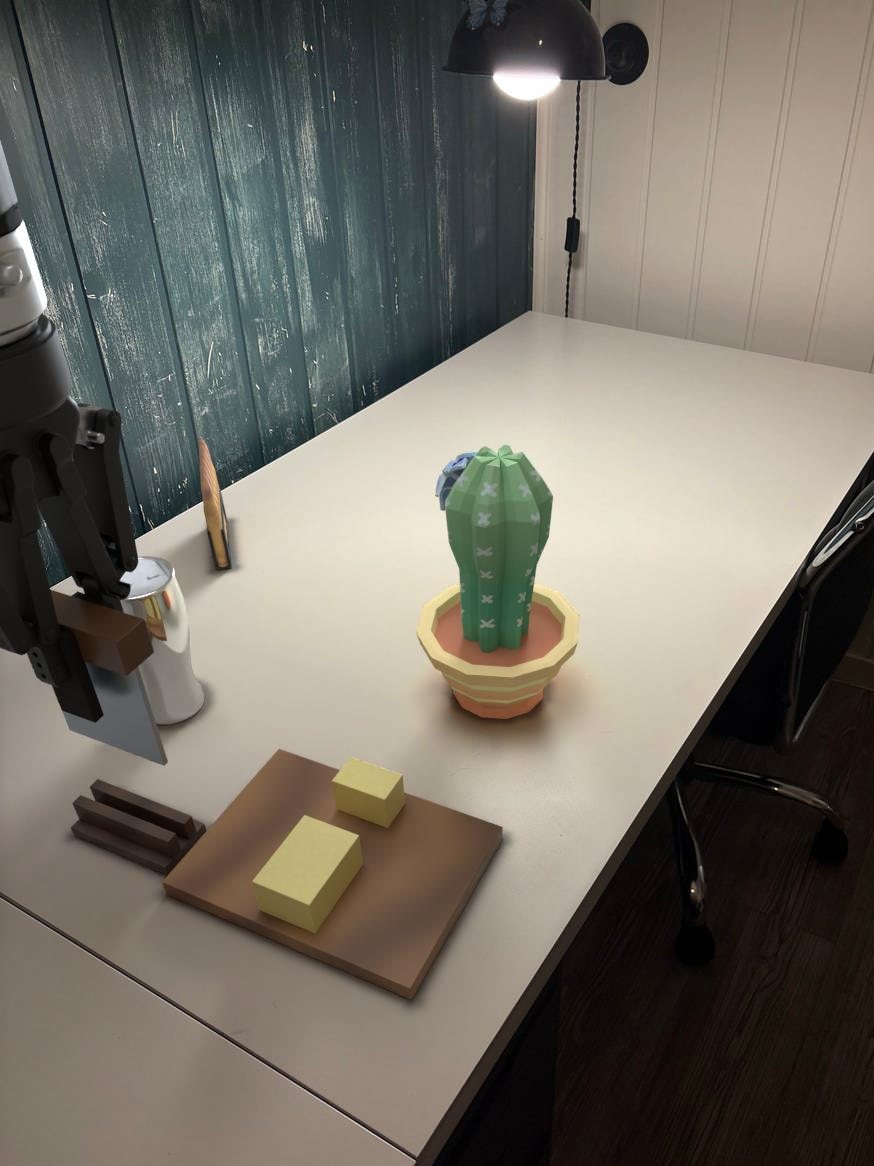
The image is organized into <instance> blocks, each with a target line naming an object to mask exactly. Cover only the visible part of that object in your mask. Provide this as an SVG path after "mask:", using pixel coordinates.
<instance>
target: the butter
mask: <svg viewBox="0 0 874 1166" xmlns="http://www.w3.org/2000/svg"><path fill="white" fill-rule="evenodd" d="M362 865H363V859H362V852H361V845H360V839H359V835H356V834H354V833H351V832H348V831H346V830H343V829H340V828H338V827H335V826H332V825H330V824H327V823H324V822H322V821H319V820H316V819H314V818H311V817H308V816H306V815H304V816H303V818H302V819H301V820H300V821H299V823H298V824H297V825H296V826H295V828H294V829H293V830H292V831H291V833H290V834H289V835H288V837H287V838H286V839H285V840H284V842H283V843H282V844H281V845H280V847H279V848H278V849H277V851H276V852H275V853H274V854H273V856H272V857H271V858H270V859H269V861H268V862H267V863H266V864H265V866H264V867H263V868H262V870H261V871H260V872H259V873H258V875H257V876H256V877H255V878H254V880H253V881H252V884H253V887H254V891H255V895H256V899H257V902H258V906H259V910H260V911H263V912H265V913H268V914H270V915H272V916H275V917H277V918H279V919H282V920H284V921H286V922H289V923H291V924H294V925H296V926H298V927H301V928H303V929H305V930H308V931H310V932H312V933H316V932H317V930H318V929H319V927H320V926H321V924H322V923H323V922H324V920H325V919H326V917H327V916H328V914H329V913H330V911H331V910H332V909H333V907H334V906H335V904H336V903H337V901H338V900H339V898H340V897H341V895H342V894H343V893H344V891H345V890H346V888H347V887H348V885H349V884H350V882H351V881H352V880H353V878H354V877H355V875H356V874H357V872H358V871H359V869H360V868H361V867H362Z"/></svg>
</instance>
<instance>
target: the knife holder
mask: <svg viewBox="0 0 874 1166" xmlns="http://www.w3.org/2000/svg"><path fill="white" fill-rule="evenodd" d="M89 789H90V791H91V793H92V797H93V799H92V798H90V797H87V796H85V795H82V794H80V795H79V796H77V798H76V799H75V800H73V802H71V803H72V806H73V808H74V811H75V813H76V815H77V818H78V819H77V820H76V821H75V822H74V823H73V824H72V826H70V830H71V832H72V834H73V836H74V837H78V838H80V839H82V840H85V841H87V842H89V843H92V844H94V845H96V846H99V847H101V848H104V849H106V850H108V851H109V852H112V853H115V854H118V855H119V856H122V857H125V858H127V859H130V860H131V861H133V862H137V863H139V864H141V865H143V866H146V867H149V868H151V869H153V870H156V871H157V872H160V873H163V874H165V875H166V876H168V875H169V874H170V872H171V871H172V870H173V869H174V868H175V867H176V866H177V864H178V863H179V862H180V861H181V860H182V859H183V858H184V856H185V855H186V854H187V853H188V852H189V851H190V850H191V848H192V847H193V846H194V845H195V844H196V843H197V842H198V840H199V839H200V838H201V837H202V836H203V835H204V834H205V832H206V831H207V827H206V825H205V823H204V822H201V821H199V820H196V819H194V817H193V816H192V815H190V814H189V813H188V814H187V813H185V812H184V811H183V812H182V811H180V810H178V809H176V808H173V807H170V806H167V805H165V804H162V803H160V802H157V801H155V800H152V799H149V798H147V797H146V796H142V795H140V794H137V793H134V792H133V791H130V790H127V789H124V788H122V787H119V786H117V785H114V784H113V783H109V782H106V781H105V780H101V779H99V778H97V779H95V780H94V782H93V783H91V784H90V786H89Z"/></svg>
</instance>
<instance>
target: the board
mask: <svg viewBox="0 0 874 1166" xmlns="http://www.w3.org/2000/svg"><path fill="white" fill-rule="evenodd" d="M340 770H341V769H338V768H336V767H332V766H330V765H327V764H324V763H321V762H319V761H316V760H313V759H310V758H308V757H304V756H302V755H298V754H296V753H293V752H290V751H287V750H284V749H281V748H278V749H277V750H276V751H275V753H273V755H272V756H271V757H269V759H268V760H267V762H265V764H264V765H263V766H262V767H261V769H259V771H258V772H256V774H255V776H253V778H252V779H251V780H250V781H249V782H248V784H246V786H244V788H243V789H242V790H241V791H240V792H239V794H238V795H237V796H236V797H235V798H234V799H233V800H232V802H231V803H230V804H228V806H227V807H226V808H225V809H224V811H222V813H221V814H220V815H219V816H218V817H217V818H216V820H215V821H214V822H213V823H212V824H211V825H210V827H208V829H206V832H205V833H204V834H203V836H202V837H201V838H200V839H199V840H198V841H197V842H196V844H195V845H194V846H193V847H192V848H191V849H190V850H189V851H188V853H187V854H186V855H185V856H184V857H183V858H182V859H181V861H180V862H179V863H178V864H177V865H176V866H175V867H174V869H173V870H172V871H171V872H170V873H169V874H168V875H166V877H165V878H164V879H163V880H162V881H161V884H162V886H163V890H164V893H165V894H166V895H168V896H170V897H173V898H176V899H177V900H180V901H182V902H184V903H187V904H189V905H191V906H194V907H196V908H198V909H201V910H203V911H205V912H207V913H210V914H212V915H215V916H217V917H219V918H221V919H224V920H226V921H228V922H231V923H232V924H235V925H238V926H240V927H242V928H244V929H246V930H249V931H251V932H254V933H256V934H258V935H261V936H263V937H264V938H265V937H266V938H267V939H270V940H272V941H275V942H277V943H279V944H282V945H284V946H286V947H289V948H290V949H292V950H296V951H297V952H299V953H303V954H305V955H307V956H309V957H311V958H313V959H317V960H318V961H321V962H323V963H326V964H328V965H330V966H332V967H335V968H337V969H339V970H341V971H344V972H345V973H349V974H351V975H353V976H356V977H357V978H360V979H362V980H365V981H367V982H369V983H370V984H371V983H372V984H374V985H376V986H378V987H380V988H383V989H385V990H387V991H390V992H392V993H395V994H397V995H399V996H402V997H404V998H406V999H408V1000H413V998H414V997H415V995H416V993H417V991H418V989H419V988H420V986H421V984H422V982H423V980H425V977H426V975H427V973H428V972H429V970H430V968H431V966H432V964H433V963H434V962H435V959H436V957H437V956H438V954H439V952H440V950H441V949H442V947H443V945H444V943H445V942H446V940H447V938H448V936H449V935H450V933H451V931H452V929H453V927H454V926H455V924H456V922H457V920H458V918H459V917H460V915H461V913H462V911H463V910H464V908H465V906H466V904H467V902H468V901H469V899H470V897H471V895H472V894H473V892H474V890H475V888H476V887H477V885H478V883H479V881H480V880H481V878H482V876H483V874H484V873H485V870H487V867H488V865H489V864H490V862H491V859H493V856H494V855H495V853H496V852H497V850H498V848H499V846H500V845H501V843H502V841H503V839H504V835H503V832H504V831H503V830H504V828H503V825H502V826H501V825H498V824H495V823H493V822H490V821H487V820H484V819H482V818H479V817H475V816H472V815H470V814H467V813H464V812H461V811H458V810H456V809H453V808H450V807H447V806H444V805H442V804H439V803H436V802H432V801H430V800H427V799H425V798H422V797H418V796H416V795H413V794H410V793H407V792H404V794H405V804H404V806H403V807H402V809H401V810H400V812H399V813H398V815H397V816H396V818H395V819H394V820H393V822H392V823H391V825H390V826H389V828H386V827H384V826H381V825H378V824H375V823H373V822H370V821H367V820H364V819H362V818H359V817H356V816H354V815H351V814H348V813H345V812H343V811H340V810H337V809H336V804H335V798H334V792H333V785H332V780H333V779H334V777H335V776H336V775H337V773H338V772H339V771H340ZM304 815H306V816H308V817H311V818H314V819H316V820H319V821H322V822H324V823H327V824H330V825H332V826H335V827H338V828H340V829H343V830H346V831H348V832H351V833H354V834H356V835H359V839H360V845H361V852H362V859H363V865H362V867H361V868H360V869H359V871H358V872H357V874H356V875H355V877H354V878H353V880H352V881H351V882H350V884H349V885H348V887H347V888H346V890H345V891H344V893H343V894H342V895H341V897H340V898H339V900H338V901H337V903H336V904H335V906H334V907H333V909H332V910H331V911H330V913H329V914H328V916H327V917H326V919H325V920H324V922H323V923H322V924H321V926H320V927H319V929H318V930H317V932H316V933H312V932H310V931H308V930H305V929H303V928H301V927H298V926H296V925H294V924H291V923H289V922H286V921H284V920H282V919H279V918H277V917H275V916H272V915H270V914H268V913H265V912H263V911H260V910H259V906H258V902H257V899H256V895H255V891H254V887H253V884H252V881H253V880H254V878H255V877H256V876H257V875H258V873H259V872H260V871H261V870H262V868H263V867H264V866H265V864H266V863H267V862H268V861H269V859H270V858H271V857H272V856H273V854H274V853H275V852H276V851H277V849H278V848H279V847H280V845H281V844H282V843H283V842H284V840H285V839H286V838H287V837H288V835H289V834H290V833H291V831H292V830H293V829H294V828H295V826H296V825H297V824H298V823H299V821H300V820H301V819H302V818H303V816H304Z"/></svg>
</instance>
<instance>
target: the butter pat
mask: <svg viewBox="0 0 874 1166" xmlns="http://www.w3.org/2000/svg"><path fill="white" fill-rule="evenodd" d="M339 770H340V771H339V772H338V773H337V775H336V776H335V777H334V779H333V780H332V785H333V792H334V798H335V804H336V809H337V810H340V811H343V812H345V813H348V814H351V815H354V816H356V817H359V818H362V819H364V820H367V821H370V822H373V823H375V824H378V825H381V826H384V827H386V828H389V826H390V825H391V823H392V822H393V820H394V819H395V818H396V816H397V815H398V813H399V812H400V810H401V809H402V807H403V806H404V804H405V794H404V793H405V785H404V775H403V774H402V773H399V772H396V771H393V770H390V769H388V768H384V767H381V766H379V765H376V764H373V763H369V762H368V761H363V760H362V759H359V758H355V757H353V756H350V757H349V758H348V759H347V761H346V762H345V763H344V764H343V766H342V767H341V768H340V769H339Z"/></svg>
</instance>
